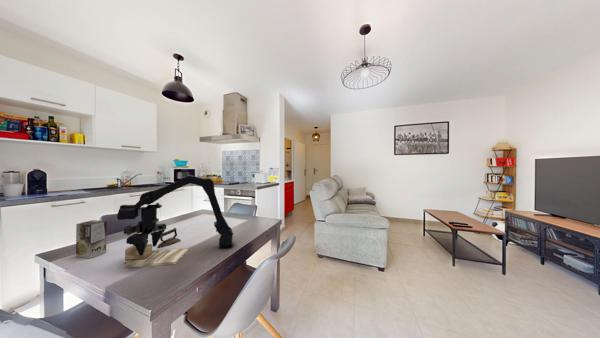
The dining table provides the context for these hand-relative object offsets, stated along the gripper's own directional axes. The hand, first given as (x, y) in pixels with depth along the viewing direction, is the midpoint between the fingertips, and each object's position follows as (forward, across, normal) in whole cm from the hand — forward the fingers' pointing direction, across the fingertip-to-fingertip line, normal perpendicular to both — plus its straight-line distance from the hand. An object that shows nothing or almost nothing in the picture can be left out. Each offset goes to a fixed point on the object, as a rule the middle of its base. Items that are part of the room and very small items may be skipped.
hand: (148, 250), depth 83 cm
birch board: (+4, 0, +5) cm, 6 cm away
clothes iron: (+4, -17, -1) cm, 18 cm away
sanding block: (+3, 0, -4) cm, 5 cm away
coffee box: (+4, -9, -30) cm, 32 cm away
